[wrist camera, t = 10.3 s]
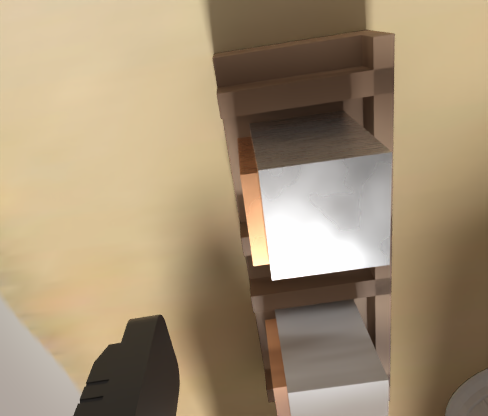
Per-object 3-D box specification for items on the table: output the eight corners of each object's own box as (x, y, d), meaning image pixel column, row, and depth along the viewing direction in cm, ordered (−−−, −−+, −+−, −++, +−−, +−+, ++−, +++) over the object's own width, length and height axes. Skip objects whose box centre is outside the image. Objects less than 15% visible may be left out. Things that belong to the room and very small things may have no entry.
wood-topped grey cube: (345, 196, 20) (389, 264, 15) (248, 210, 20) (255, 282, 15) (343, 110, 18) (392, 152, 13) (235, 125, 18) (239, 173, 13)
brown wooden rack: (371, 356, 27) (422, 479, 20) (266, 369, 28) (279, 497, 20) (366, 29, 19) (453, 41, 12) (214, 53, 19) (205, 79, 12)
